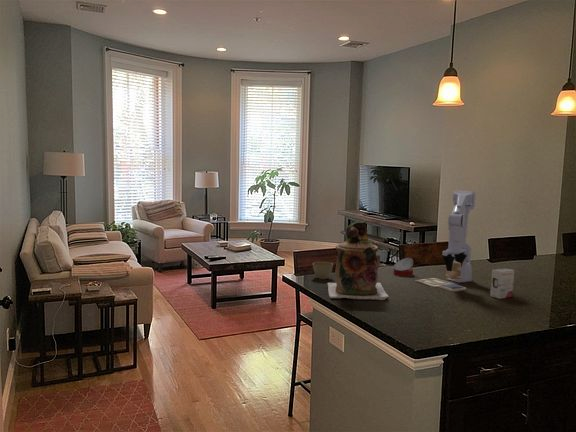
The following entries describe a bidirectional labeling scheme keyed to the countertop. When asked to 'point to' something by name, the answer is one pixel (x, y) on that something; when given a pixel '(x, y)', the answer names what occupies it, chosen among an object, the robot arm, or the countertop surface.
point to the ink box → (502, 283)
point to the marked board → (433, 282)
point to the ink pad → (452, 287)
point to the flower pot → (322, 269)
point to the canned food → (403, 267)
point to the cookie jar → (357, 267)
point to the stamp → (454, 271)
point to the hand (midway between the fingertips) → (453, 270)
